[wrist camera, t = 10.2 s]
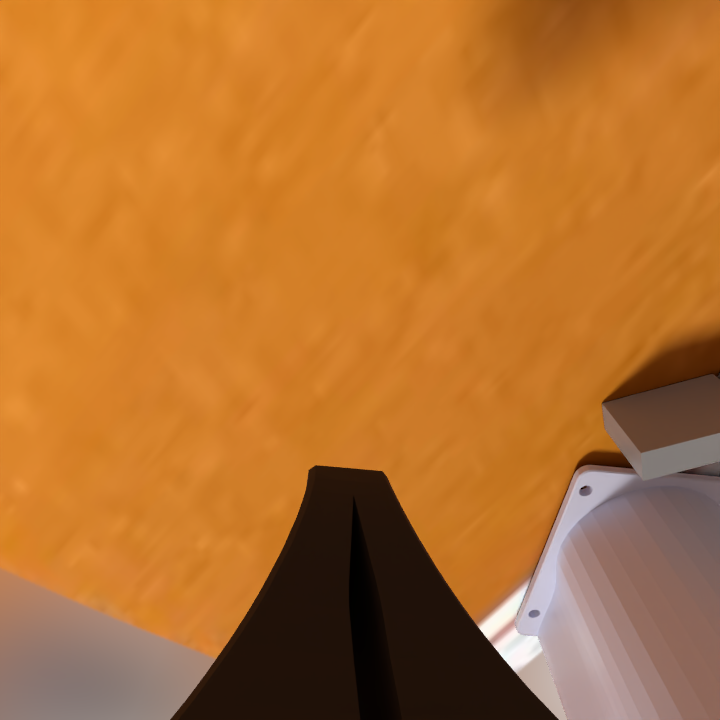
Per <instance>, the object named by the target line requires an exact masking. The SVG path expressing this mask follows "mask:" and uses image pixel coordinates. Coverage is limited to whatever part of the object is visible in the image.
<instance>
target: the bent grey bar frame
mask: <svg viewBox="0 0 720 720" xmlns="http://www.w3.org/2000/svg"><path fill="white" fill-rule="evenodd" d="M602 408H603V417H604V426H605V430H606V431H607V433H608V434H609V435H610V437H611V438H612V439H613V441H614V442H615V443H616V445H617V446H618V448H619V449H620V450H621V452H622V453H623V454H624V456H625V457H626V458H627V460H628V461H629V463H630V464H631V465H632V467H633V468H634V469H635V471H636V472H637V473H638V475H639V476H640V477H641V479H642V480H643V481H645V480H649V479H653V478H657V477H661V476H665V475H669V474H673V473H677V472H681V471H685V470H689V469H693V468H697V467H701V466H704V465H708V464H712V463H716V462H720V373H719V375H718V377H716V376H715V375H714V374H710V375H706V376H702V377H698V378H695V379H691V380H687V381H683V382H680V383H676V384H672V385H668V386H665V387H661V388H657V389H653V390H650V391H646V392H642V393H638V394H635V395H631V396H627V397H623V398H620V399H616V400H612V401H608V402H605V403H602Z"/></svg>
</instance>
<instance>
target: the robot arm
mask: <svg viewBox="0 0 720 720" xmlns="http://www.w3.org/2000/svg"><path fill="white" fill-rule="evenodd" d="M584 486H587V487H586V488H584V489H581V488H582V487H584ZM515 626H516V630H517V632H518V633H520V634H521V635H528V636H538V639H539V642H540V645H541V647H542V650H543V653H544V655H545V658H546V661H547V664H548V667H549V670H550V672H551V675H552V678H553V681H554V684H555V686H556V689H557V692H558V695H559V697H560V700H561V703H562V706H563V709H564V712H565V714H566V717H567V720H720V477H717V476H706V475H696V474H685V473H673V474H669V475H665V476H661V477H657V478H653V479H649V480H645V481H643V480H642V479H641V477H640V476H639V475H638V473H637V472H636V471H635V469H631V468H620V467H609V466H599V465H585V466H582V467H580V468H579V469H578V470H577V471H576V472H575V474H574V476H573V478H572V481H571V483H570V486H569V488H568V491H567V493H566V496H565V498H564V501H563V503H562V506H561V508H560V511H559V513H558V516H557V518H556V521H555V523H554V526H553V528H552V531H551V533H550V536H549V538H548V541H547V543H546V546H545V548H544V551H543V553H542V556H541V558H540V561H539V563H538V566H537V568H536V571H535V573H534V576H533V578H532V580H531V583H530V585H529V588H528V590H527V593H526V595H525V598H524V600H523V603H522V605H521V608H520V610H519V613H518V615H517V618H516V620H515ZM170 720H559V719H558V718H557V717H555V715H554V714H553V713H552V712H551V711H550V710H549V709H548V708H547V707H546V706H545V705H544V704H543V703H542V702H541V701H540V700H539V699H538V698H537V697H536V695H535V694H534V693H533V692H532V691H531V690H530V689H529V688H528V687H527V686H526V685H525V683H524V682H523V681H522V680H521V679H520V678H519V676H518V675H517V674H516V673H515V672H514V671H513V669H512V668H511V667H510V666H509V665H508V664H507V662H506V661H505V660H504V659H503V658H502V657H501V655H500V654H499V653H498V652H497V650H496V649H495V648H494V647H493V645H492V644H491V643H490V642H489V640H488V639H487V638H486V637H485V635H484V634H483V633H482V632H481V630H480V629H479V628H478V626H477V625H476V624H475V622H474V621H473V620H472V618H471V617H470V616H469V614H468V613H467V611H466V610H465V609H464V607H463V606H462V605H461V603H460V602H459V600H458V599H457V597H456V596H455V594H454V593H453V592H452V590H451V589H450V587H449V586H448V584H447V583H446V581H445V580H444V578H443V577H442V575H441V574H440V572H439V571H438V569H437V567H436V566H435V564H434V563H433V561H432V559H431V558H430V556H429V554H428V553H427V551H426V549H425V548H424V546H423V544H422V543H421V541H420V540H419V538H418V536H417V534H416V533H415V531H414V529H413V527H412V526H411V524H410V522H409V520H408V518H407V516H406V514H405V513H404V511H403V509H402V507H401V505H400V503H399V501H398V499H397V497H396V495H395V493H394V491H393V489H392V487H391V485H390V483H389V480H388V478H387V476H386V475H385V474H384V473H383V472H382V471H374V470H363V469H351V468H340V467H329V466H317V465H316V466H314V467H313V468H311V469H310V470H309V473H308V480H307V487H306V491H305V495H304V498H303V501H302V504H301V507H300V510H299V512H298V515H297V518H296V520H295V522H294V525H293V527H292V529H291V531H290V534H289V536H288V538H287V540H286V543H285V545H284V547H283V549H282V551H281V553H280V555H279V557H278V559H277V561H276V563H275V565H274V567H273V568H272V570H271V572H270V574H269V576H268V578H267V580H266V581H265V583H264V585H263V587H262V589H261V591H260V592H259V594H258V596H257V597H256V599H255V601H254V603H253V604H252V606H251V608H250V609H249V611H248V612H247V614H246V616H245V617H244V619H243V620H242V622H241V623H240V625H239V627H238V628H237V630H236V631H235V633H234V634H233V636H232V637H231V639H230V640H229V642H228V643H227V645H226V646H225V648H224V649H223V650H222V652H221V653H220V655H219V656H218V657H217V659H216V660H215V662H214V663H213V665H212V666H211V667H210V669H209V670H208V672H207V673H206V674H205V676H204V677H203V679H202V680H201V681H200V683H199V684H198V685H197V687H196V688H195V689H194V691H193V692H192V693H191V695H190V696H189V697H188V698H187V700H186V701H185V703H183V705H182V706H181V707H180V709H179V710H178V711H177V712H176V713H175V715H174V716H173V717H172V718H171V719H170Z"/></svg>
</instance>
